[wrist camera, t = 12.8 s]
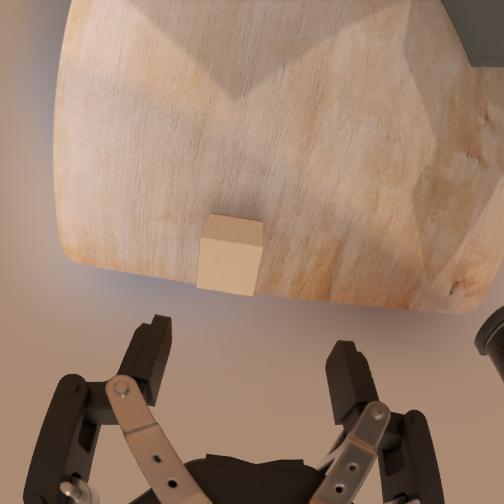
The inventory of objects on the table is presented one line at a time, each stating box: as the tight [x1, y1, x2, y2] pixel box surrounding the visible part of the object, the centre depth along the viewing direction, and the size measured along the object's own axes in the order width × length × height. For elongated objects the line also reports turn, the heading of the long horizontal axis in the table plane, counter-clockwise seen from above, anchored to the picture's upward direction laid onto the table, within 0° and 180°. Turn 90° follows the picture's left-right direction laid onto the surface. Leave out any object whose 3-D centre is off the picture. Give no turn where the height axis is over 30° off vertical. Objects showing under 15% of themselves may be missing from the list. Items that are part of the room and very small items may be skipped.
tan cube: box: [197, 214, 264, 296], centre depth 25 cm, size 5×5×5 cm
